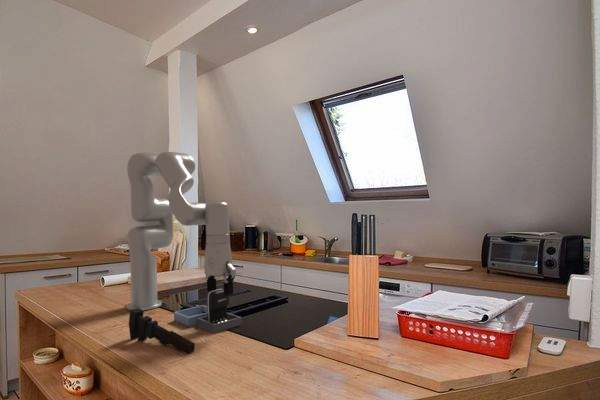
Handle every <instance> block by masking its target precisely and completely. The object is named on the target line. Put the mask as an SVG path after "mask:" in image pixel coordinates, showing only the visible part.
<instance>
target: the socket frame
mask: <svg viewBox="0 0 600 400" xmlns="http://www.w3.org/2000/svg"><path fill="white" fill-rule="evenodd" d="M227 318H228V321H224V322H221V323H217V324H213V323H211V322H208V316H204V317H200V318H197V325H196V326H197V327H198V328H201V329H203V330H206V331H208V332H211V333H212V334H217V333H220V332H222V331H227V330H230V329H233V328H236V327H240V326H242V325H243V323H242V318H243V317H242V316H238V315H236V314H234V313H230V312H227Z"/></svg>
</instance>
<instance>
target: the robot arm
mask: <svg viewBox="0 0 600 400" xmlns="http://www.w3.org/2000/svg"><path fill="white" fill-rule="evenodd" d="M195 169H196V162H195V160H194V158H193V157H192V156H191V155H190V154H188V153H184V152H183V153H182V152H175V151H163V152H160V153H159V154H158V153H153V152H137V153H134V154H132V155H131V156H130V157H129V160H128V162H127V169H126V170H127V177H128V181H129V185H130V211H131V212H130V214H131V218H132V220H133V221H135V222H138V223H153V222H156V224H148V225H147V224H145V225H137V226H135V227H132V228H131V229H129V230H128V232H127V235H126V242H127V246H128V252H129V260H130V261H129V262H130V264H129V266H130V267H129V268H130V300H131V301H130V302H129V303H127V305H126V310H128V311H130V310H133V309H136V308H140V309H142V310H143V311H148V310H152V309H156V308H159V307H161V306H162V304H163V303H162V301H161V300H160V299H158V262H157V257H156V256H155V254H154V253H153V251H152V250H155V249H163V248H167V247H169V246H170V245H172V242H173V240H174V239H173V238H174V217H175V219H176V221H177V222H178V223H179V224H181V225H183V226H186V227H189V226H190V227H191V226H203V225H204V226H205V241H206V242H205V243H206V244H205V251H204V264H203V269H204V274H205V280H206V291H207V293H209V292H210V291H213V290H217V278H216V277H218V278H222V279H223V281H224V283H223V289H224V296H228V295H229V296H231V295H234V282H235V278H236V274H237V269H236V268H235V267H234V265H233V255H232V247H231V236H230V235H231V234H230V231H231V230H230V211H229V210H230V208H229V207H230V206H229V204H228V203H227V202H225V201H213V202H188V201H187V200H186V198H185V197H184V196H183V195H185V194H186V193H188V191H190V190H191V188H192V187H193V186H194V182H195V181H194V177H193V176H192V175H193V173H194V172H195ZM149 176H154V177H155V176H156V177H162V178H163V180H164V181H165V183H166V184H167V186H168V187H169V189H170V190H169V193H168V197H167V198H168V199H167V198H164V197H163V198H162V197H155V185H154V184H153V182H152V180H151V179H150V178H149Z"/></svg>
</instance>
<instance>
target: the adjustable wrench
mask: <svg viewBox="0 0 600 400" xmlns="http://www.w3.org/2000/svg"><path fill="white" fill-rule="evenodd" d="M144 313H145V310H142V309H140V308H136V309H133V310H129V319H128V329H129V336H130V340H131V341H132V340H136V339H137V341H138V342H141V341H144V340H147V339H148V340H152V339H153V338H154V339H156V340H158V342H159V344H161V345H162V346H168V345H170V346H171V347H173V348H176V349H177V350H179V351H180V352H182V353H183V354H187V355H189V354H192V353H194V352H195V346H196V342H193V341H191V340H190V339H188V338H186V337H184V336H182V335H180V334H179V333H176V332H175V331H173V330H168V329H166V328H164V327H162V326H160V325H159V321H158V320H153V318H152V317H151V316H149V315H145V316H144Z"/></svg>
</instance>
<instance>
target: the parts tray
mask: <svg viewBox="0 0 600 400" xmlns="http://www.w3.org/2000/svg"><path fill="white" fill-rule="evenodd" d="M202 311H204V312H206V313H202ZM204 316H208V311H207V305H204V304H202V305H201V304H200V305H197V306H194V307H189V308H186V309H181V310H176V311H174V312H173V321H174V322H176V323H178V324H179V325H183V326H185V327H187V328H192V327H195V326H197V318H200V317H204Z"/></svg>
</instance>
